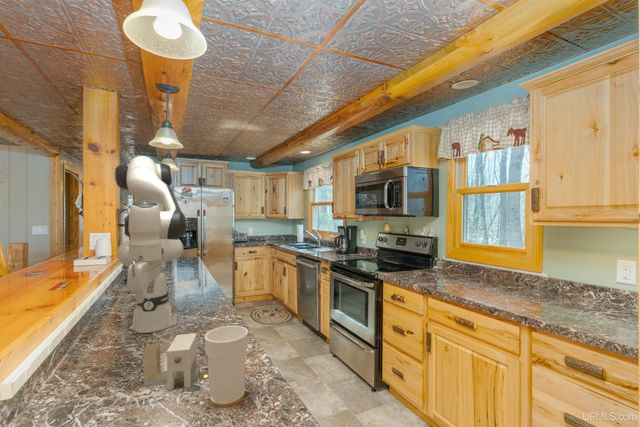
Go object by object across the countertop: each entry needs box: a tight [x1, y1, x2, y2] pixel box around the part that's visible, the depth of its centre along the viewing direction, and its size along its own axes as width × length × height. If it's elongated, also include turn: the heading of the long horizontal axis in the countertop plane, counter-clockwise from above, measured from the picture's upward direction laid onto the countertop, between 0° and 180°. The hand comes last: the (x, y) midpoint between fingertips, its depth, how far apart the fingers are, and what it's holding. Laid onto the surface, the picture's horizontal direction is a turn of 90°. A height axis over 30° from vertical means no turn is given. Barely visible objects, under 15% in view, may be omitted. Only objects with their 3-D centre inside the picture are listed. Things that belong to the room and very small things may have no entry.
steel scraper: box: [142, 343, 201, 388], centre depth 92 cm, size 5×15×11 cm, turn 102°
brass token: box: [198, 370, 209, 380], centre depth 94 cm, size 4×4×1 cm
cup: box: [204, 325, 249, 408], centre depth 83 cm, size 11×11×17 cm
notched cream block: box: [166, 332, 198, 391], centre depth 92 cm, size 13×6×11 cm, turn 12°
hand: (145, 297), depth 95 cm, fingers open, 8 cm apart
